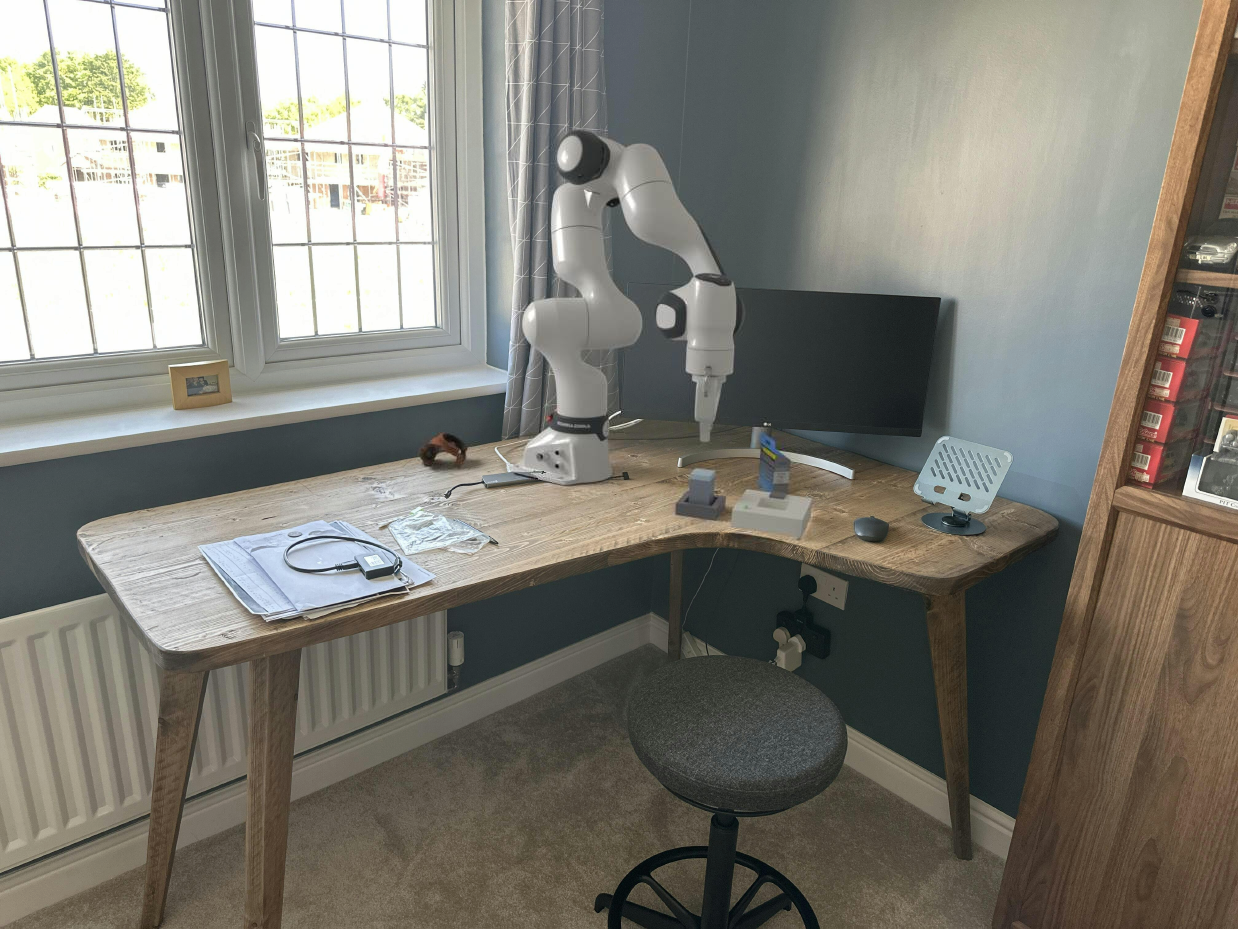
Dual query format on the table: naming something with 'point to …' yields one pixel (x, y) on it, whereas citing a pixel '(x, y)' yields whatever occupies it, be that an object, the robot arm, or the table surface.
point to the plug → (702, 486)
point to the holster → (700, 508)
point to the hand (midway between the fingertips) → (706, 435)
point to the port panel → (772, 513)
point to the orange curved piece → (432, 449)
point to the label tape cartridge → (773, 467)
